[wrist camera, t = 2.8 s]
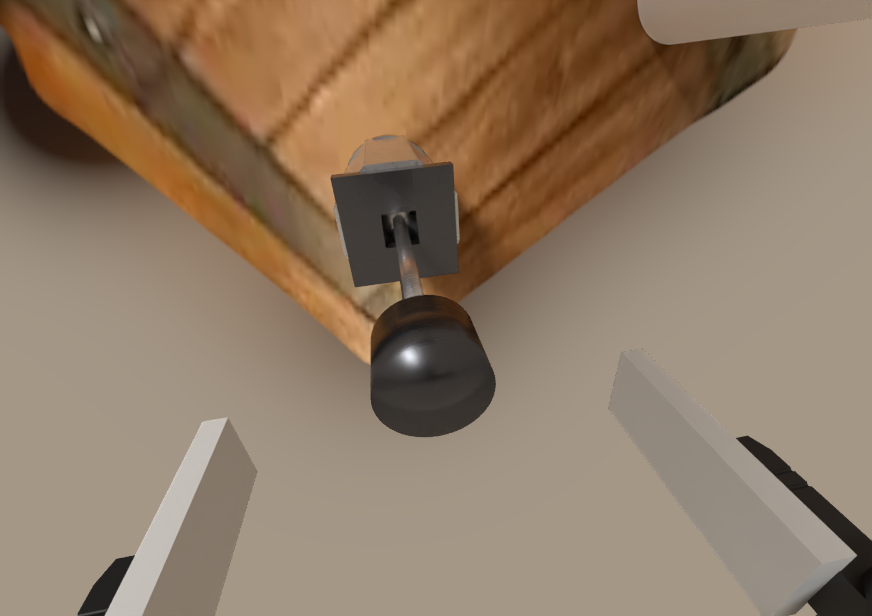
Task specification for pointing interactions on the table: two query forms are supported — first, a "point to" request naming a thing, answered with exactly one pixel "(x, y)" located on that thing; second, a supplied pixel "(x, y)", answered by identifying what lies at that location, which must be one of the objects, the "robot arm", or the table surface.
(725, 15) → the cylinder container
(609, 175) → the table surface
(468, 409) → the plunger
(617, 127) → the table surface
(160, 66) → the table surface
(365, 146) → the press carafe
